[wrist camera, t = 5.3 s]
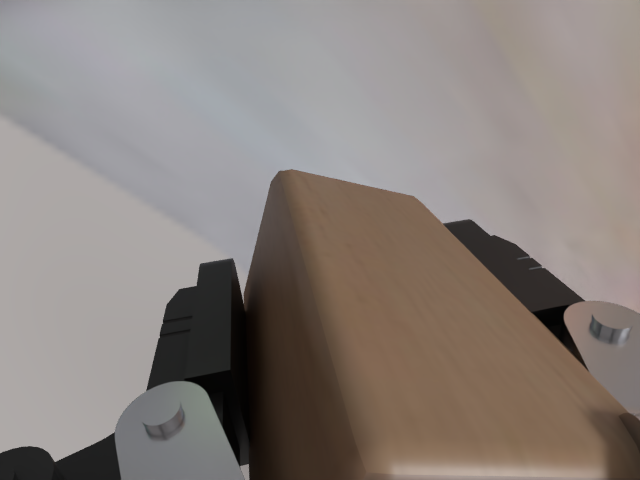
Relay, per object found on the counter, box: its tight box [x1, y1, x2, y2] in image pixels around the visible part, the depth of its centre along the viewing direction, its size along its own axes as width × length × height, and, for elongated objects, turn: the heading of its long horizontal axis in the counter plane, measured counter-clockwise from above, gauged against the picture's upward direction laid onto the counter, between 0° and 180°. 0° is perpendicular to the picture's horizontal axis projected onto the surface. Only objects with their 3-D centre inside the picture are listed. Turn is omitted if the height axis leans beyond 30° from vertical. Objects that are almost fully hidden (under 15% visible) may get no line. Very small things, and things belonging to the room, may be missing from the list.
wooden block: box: [244, 169, 640, 480], centre depth 8 cm, size 4×4×8 cm
